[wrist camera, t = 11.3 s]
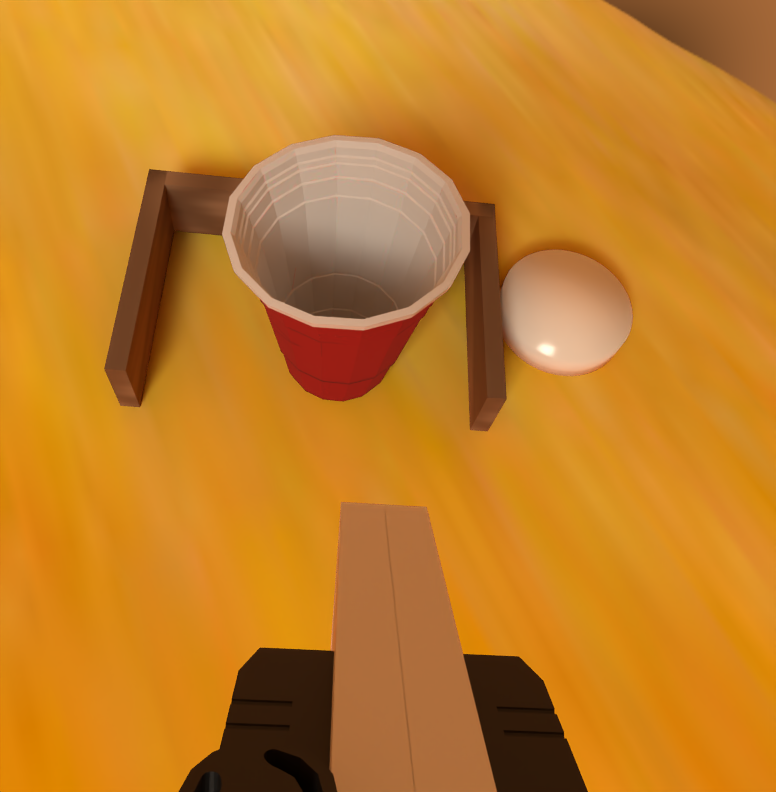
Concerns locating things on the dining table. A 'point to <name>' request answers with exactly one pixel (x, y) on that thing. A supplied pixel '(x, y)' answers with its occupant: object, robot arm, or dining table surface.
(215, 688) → the dining table surface
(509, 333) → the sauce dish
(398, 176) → the plastic cup
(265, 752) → the robot arm
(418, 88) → the dining table surface
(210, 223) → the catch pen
